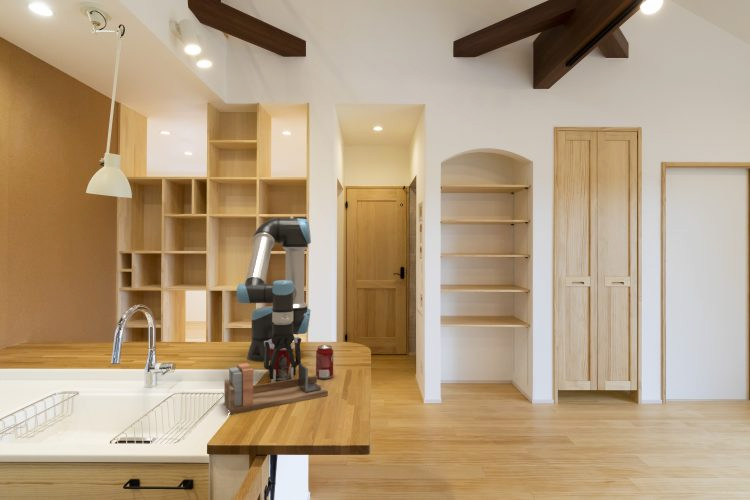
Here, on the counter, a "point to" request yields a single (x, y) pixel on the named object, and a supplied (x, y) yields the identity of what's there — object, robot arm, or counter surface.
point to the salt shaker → (282, 370)
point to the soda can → (324, 362)
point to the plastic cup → (284, 352)
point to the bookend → (305, 380)
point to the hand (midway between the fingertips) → (282, 385)
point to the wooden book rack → (262, 391)
